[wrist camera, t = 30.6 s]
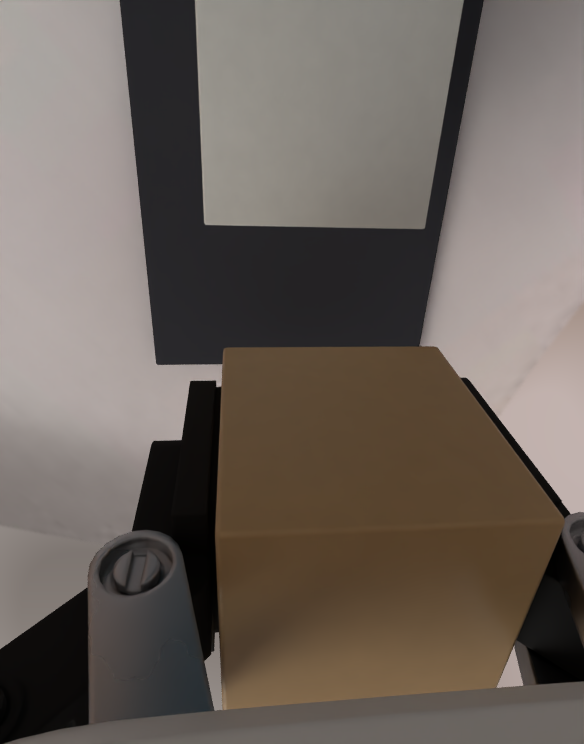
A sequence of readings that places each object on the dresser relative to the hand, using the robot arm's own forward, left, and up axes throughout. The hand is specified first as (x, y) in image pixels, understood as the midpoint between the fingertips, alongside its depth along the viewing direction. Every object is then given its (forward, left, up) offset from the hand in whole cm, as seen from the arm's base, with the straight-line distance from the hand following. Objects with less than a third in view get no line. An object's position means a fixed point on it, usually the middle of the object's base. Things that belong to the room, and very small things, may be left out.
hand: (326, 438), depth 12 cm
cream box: (-7, 0, -8) cm, 10 cm away
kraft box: (0, 0, 0) cm, 0 cm away
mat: (-3, 0, -9) cm, 9 cm away
